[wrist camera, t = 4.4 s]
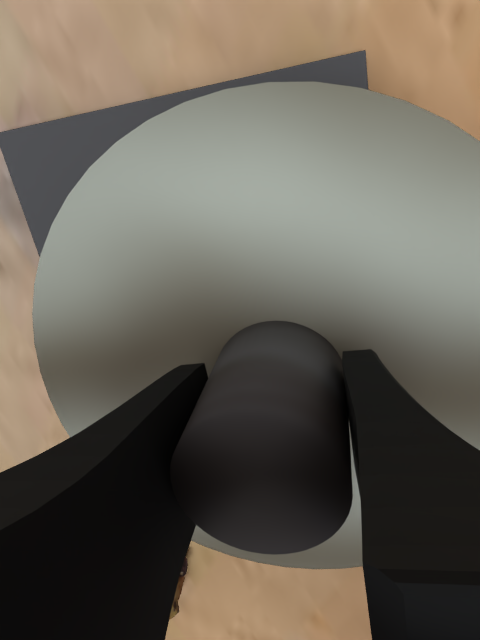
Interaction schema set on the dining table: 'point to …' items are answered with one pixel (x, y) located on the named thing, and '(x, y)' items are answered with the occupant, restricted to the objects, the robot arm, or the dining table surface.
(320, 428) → the lid
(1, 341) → the dining table surface
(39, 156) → the mat
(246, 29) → the dining table surface
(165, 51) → the dining table surface
